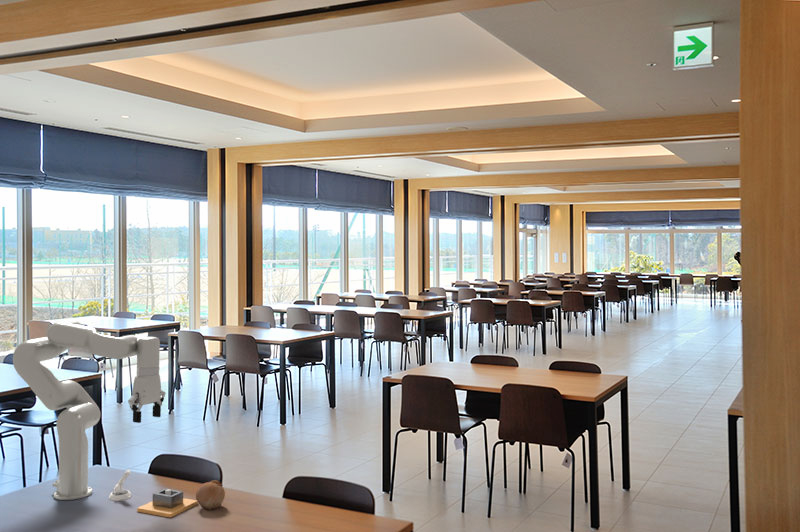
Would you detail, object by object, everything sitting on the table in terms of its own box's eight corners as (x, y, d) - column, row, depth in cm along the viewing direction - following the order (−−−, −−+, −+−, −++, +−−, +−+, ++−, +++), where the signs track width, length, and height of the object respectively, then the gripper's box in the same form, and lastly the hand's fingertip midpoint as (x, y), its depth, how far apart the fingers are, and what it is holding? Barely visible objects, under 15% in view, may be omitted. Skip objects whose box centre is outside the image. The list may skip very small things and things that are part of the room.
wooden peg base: (137, 511, 232) (137, 493, 232) (165, 498, 245) (165, 481, 245) (170, 517, 226) (170, 499, 226) (197, 504, 239) (198, 486, 239)
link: (152, 505, 234) (152, 493, 234) (164, 499, 240) (164, 488, 240) (171, 508, 231) (171, 496, 231) (183, 503, 237) (183, 491, 237)
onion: (217, 512, 240) (228, 484, 243) (218, 514, 231) (230, 484, 235) (191, 504, 238) (202, 475, 242) (191, 505, 229) (203, 475, 233)
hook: (140, 486, 242) (122, 476, 240) (121, 512, 243) (103, 502, 242) (145, 475, 249) (128, 465, 248) (127, 500, 251) (110, 490, 249)
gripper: (156, 367, 255) (155, 413, 255) (121, 374, 239) (120, 423, 239) (172, 369, 252) (171, 415, 252) (138, 376, 236) (137, 425, 236)
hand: (146, 419), depth 245 cm, fingers open, 9 cm apart
